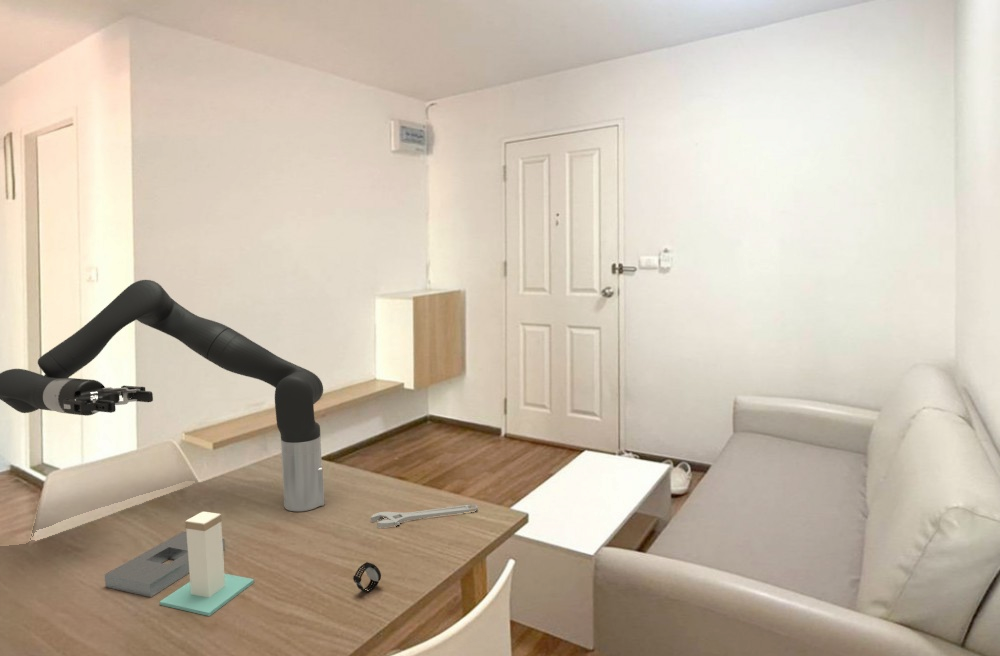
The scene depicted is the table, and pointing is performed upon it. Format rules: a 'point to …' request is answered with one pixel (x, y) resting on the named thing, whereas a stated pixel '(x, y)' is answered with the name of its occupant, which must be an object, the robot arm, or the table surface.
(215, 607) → the mat
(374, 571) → the smartwatch
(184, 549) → the socket plate
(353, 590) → the table surface
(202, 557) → the post
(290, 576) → the table surface
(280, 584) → the table surface
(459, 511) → the adjustable wrench
